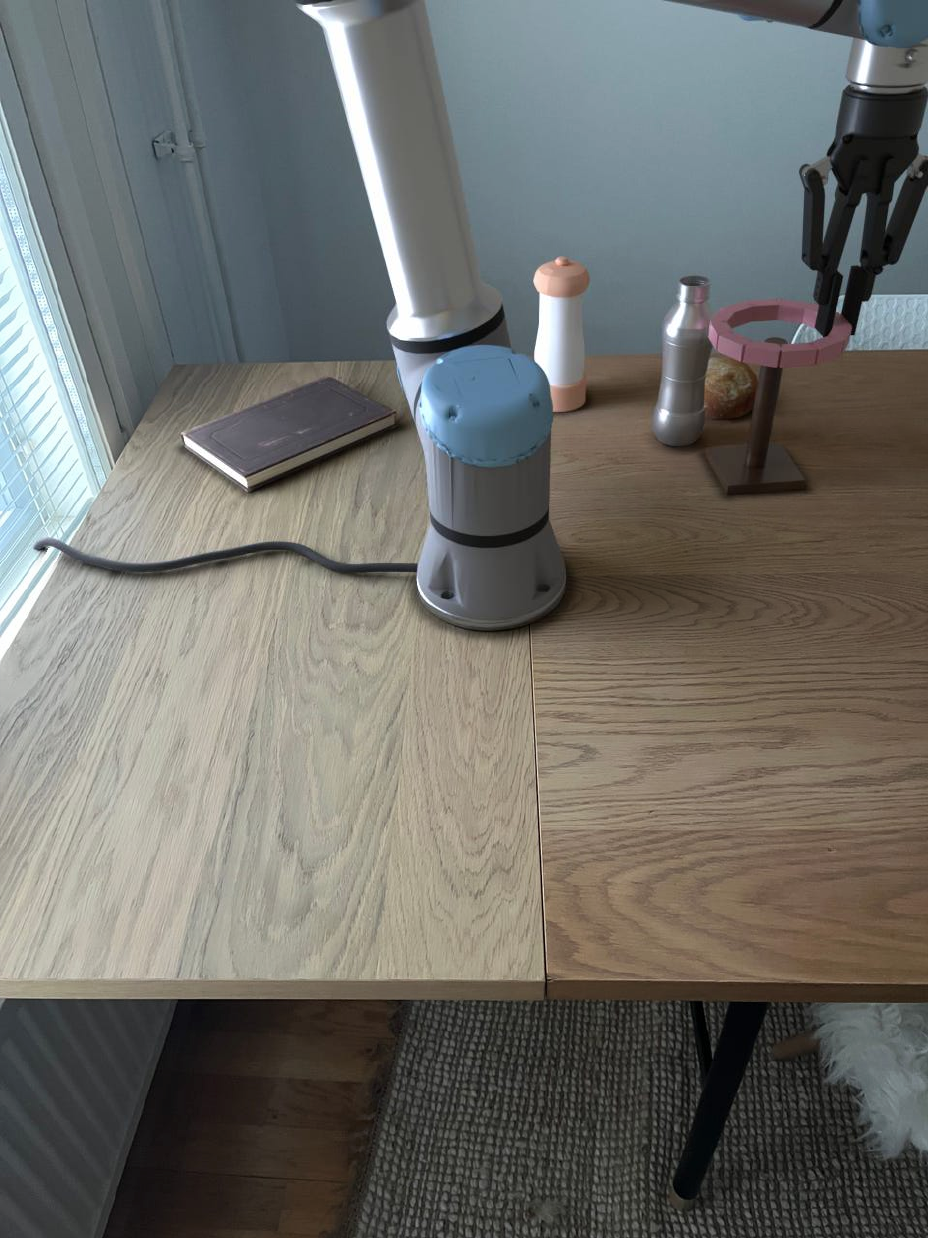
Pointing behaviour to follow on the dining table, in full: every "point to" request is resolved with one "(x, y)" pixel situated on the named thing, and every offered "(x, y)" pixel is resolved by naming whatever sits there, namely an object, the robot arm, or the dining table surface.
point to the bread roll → (729, 388)
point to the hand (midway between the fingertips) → (834, 330)
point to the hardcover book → (288, 432)
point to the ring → (771, 352)
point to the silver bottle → (684, 364)
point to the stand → (758, 446)
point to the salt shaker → (562, 331)
